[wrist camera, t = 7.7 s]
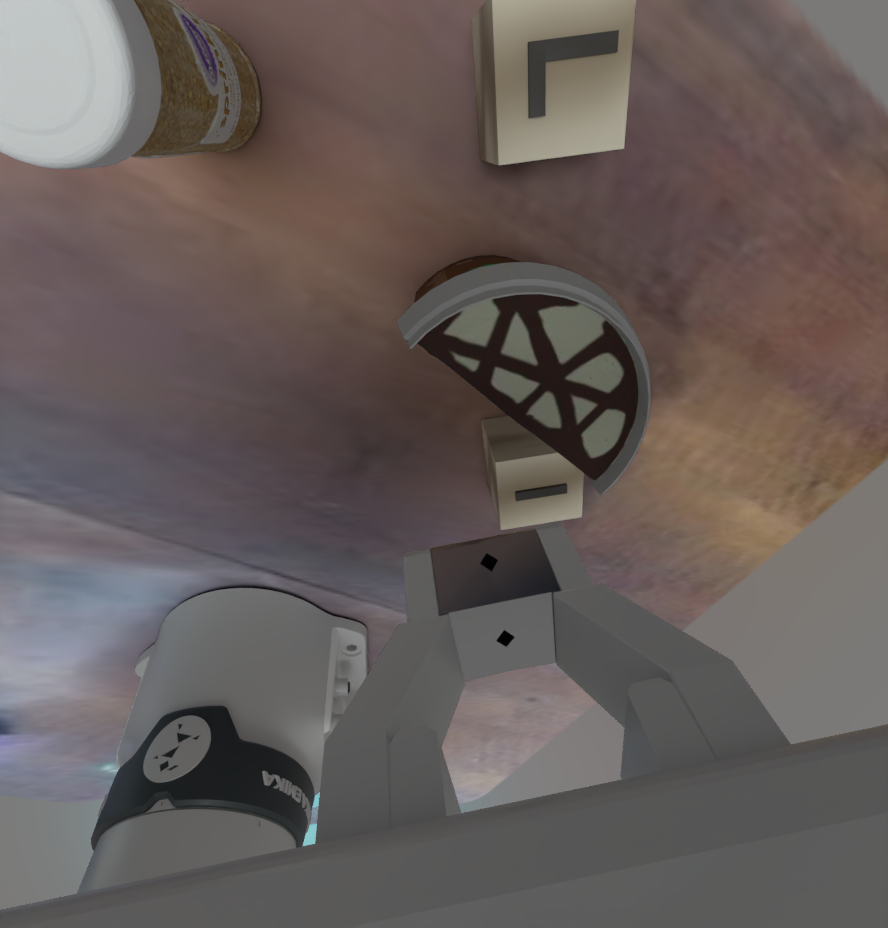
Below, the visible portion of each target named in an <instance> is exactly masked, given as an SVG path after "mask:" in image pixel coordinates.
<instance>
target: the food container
mask: <svg viewBox="0 0 888 928" xmlns="http://www.w3.org/2000/svg"><path fill="white" fill-rule="evenodd" d="M397 324H398V327H399V329H400V332H401V334H402V337H403V338H404V339H405V340H407V341H408V346H409V349H412V348H413V347H414V346H415V345H416V344H417V343H418V344H419V345H421V346H422V347H423V348H424V349H425V350H426V351H427V352H428V353H429V354H431V355H433V356H435V357H437V358H438V359H439V360H441V361H442V362H443V363H445V364H446V365H447V366H449V367H450V368H451V369H452V370H454V371H455V372H456V373H457V374H459V375H460V376H461V377H462V378H464V379H465V380H466V381H467V382H469V383H470V384H471V385H472V386H473V387H475V388H476V389H477V390H478V391H480V392H481V393H482V394H483V395H485V396H486V397H487V398H488V399H489V400H491V401H492V402H493V403H494V404H495V405H497V406H498V407H499V408H500V409H501V410H503V411H504V412H505V413H506V414H507V415H508V416H510V417H511V418H512V419H513V420H514V421H516V422H517V423H518V424H520V425H521V426H522V427H524V428H525V429H527V430H528V431H529V432H531V433H532V434H534V435H535V436H536V437H538V438H539V439H540V440H542V441H543V442H544V443H546V444H547V445H548V446H550V447H551V448H552V449H554V450H555V451H556V452H558V453H559V454H560V455H562V456H563V457H564V458H565V459H567V460H568V461H569V462H570V463H572V464H573V465H574V466H576V467H577V468H578V469H579V470H581V471H582V472H583V473H585V474H586V475H587V476H588V477H589V479H590V480H591V482H592V483H593V485H594V486H595V488H596V490H597V491H598V493H599V494H600V496H602V495H603V494H604V493H605V492H606V491H607V490H608V489H610V488H611V487H612V486H613V485H614V484H615V483H616V481H617V480H618V479H619V478H620V476H621V475H622V474H623V473H624V472H625V470H626V469H627V468H628V466H629V464H630V463H631V461H632V460H633V458H634V456H635V455H636V453H637V451H638V449H639V446H640V444H641V442H642V439H643V437H644V435H645V431H646V427H647V423H648V419H649V413H650V403H651V386H650V373H649V367H648V364H647V360H646V356H645V352H644V350H643V348H642V345H641V343H640V341H639V339H638V337H637V335H636V333H635V331H634V329H633V327H632V325H631V323H630V321H629V319H628V317H627V315H626V314H625V313H624V311H623V310H622V309H621V308H620V306H619V305H618V304H617V302H616V301H615V300H614V299H613V298H612V297H611V296H610V295H609V294H607V293H606V292H605V291H604V290H603V289H602V288H600V287H599V286H598V285H597V284H595V283H593V282H592V281H590V280H588V279H586V278H584V277H583V276H581V275H579V274H577V273H575V272H572V271H569V270H566V269H563V268H560V267H557V266H553V265H546V264H540V263H533V262H520V261H517V260H514V259H511V258H508V257H502V256H495V255H488V256H476V257H471V258H466V259H463V260H460V261H458V262H455V263H453V264H450V265H449V266H447V267H445V268H443V269H442V270H440V271H438V272H437V273H436V274H435V275H433V276H432V277H431V278H430V279H428V280H427V281H426V282H425V283H424V284H423V285H422V287H421V288H420V289H419V290H418V291H417V292H416V297H415V303H414V304H412V305H411V306H410V308H409V309H408V310H407V311H406V312H405V313H404V314H403V315H402V316H401V317H400V318H399V319H398V320H397Z"/></svg>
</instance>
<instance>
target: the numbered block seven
mask: <svg viewBox="0 0 888 928" xmlns="http://www.w3.org/2000/svg"><path fill="white" fill-rule="evenodd" d="M635 6H636V0H486V2H485V3H484V4H483V6H482V7H481V8H480V10H479V11H478V13H477V14H476V15H475V17H474V18H473V19H472V37H473V54H474V70H475V87H476V104H477V121H478V138H479V155H480V160H482V161H485V162H489V163H492V164H496V165H506V164H513V163H521V162H528V161H535V160H543V159H550V158H558V157H565V156H573V155H580V154H587V153H595V152H602V151H610V150H617V149H624V143H625V130H626V118H627V105H628V93H629V80H630V68H631V55H632V43H633V31H634V18H635Z"/></svg>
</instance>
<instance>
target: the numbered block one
mask: <svg viewBox="0 0 888 928" xmlns="http://www.w3.org/2000/svg"><path fill="white" fill-rule="evenodd" d="M481 422H482V433H483V444H484V454H485V465H486V476H487V484H488V487H489V491H490V494H491V498H492V501H493V505H494V508H495V512H496V515H497V519H498V522H499V526H500V529H501V530H505V529H511V528H517V527H524V526H530V525H536V524H542V523H549V522H555V521H561V520H567V519H574V518H580V517H582V501H583V478H584V473H583V472H582V471H581V470H579V469H578V468H577V467H576V466H574V465H573V464H572V463H570V462H569V461H568V460H567V459H565V458H564V457H563V456H562V455H560V454H559V453H558V452H556V451H555V450H554V449H552V448H551V447H550V446H548V445H547V444H546V443H544V442H543V441H542V440H540V439H539V438H538V437H536V436H535V435H534V434H532V433H531V432H529V431H528V430H527V429H525V428H524V427H522V426H521V425H520V424H518V423H517V422H516V421H514V420H513V419H512V418H511V417H510V416H503V417H497V418H490V419H484V420H481Z"/></svg>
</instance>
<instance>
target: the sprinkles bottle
mask: <svg viewBox="0 0 888 928" xmlns="http://www.w3.org/2000/svg"><path fill="white" fill-rule="evenodd" d="M260 110H261V99H260V93H259V85H258V80H257V76H256V73H255V71H254V69H253V66H252V63H251V62H250V60H249V59H248V57H247V56H246V54H245V53H244V51H243V50H242V49H241V48H240V46H239V45H238V44H237V43H236V42H235V41H234V40H233V39H232V38H231V37H230V36H229V35H228V34H226V33H225V32H224V31H223V30H221V29H220V28H218V27H217V26H215V25H213V24H211V23H208V22H205V21H203V20H201V19H200V18H199V17H197V16H196V15H195V14H193V13H191V12H190V11H188V10H187V9H185V8H184V7H182V6H180V5H179V4H177V3H175V2H174V1H172V0H0V152H2V153H4V154H6V155H8V156H10V157H12V158H14V159H17V160H20V161H22V162H26V163H29V164H32V165H36V166H40V167H45V168H53V169H82V168H95V167H105V166H109V165H113V164H117V163H119V162H121V161H123V160H125V159H127V158H129V157H135V158H159V157H171V156H180V155H189V154H199V153H203V152H205V151H212V152H218V153H220V152H226V151H231V150H234V149H237V148H239V147H241V146H242V145H243V144H244V143H245V142H246V141H247V140H248V139H249V138H250V137H251V135H252V134H253V131H254V130H255V128H256V126H257V123H258V121H259V116H260Z"/></svg>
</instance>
